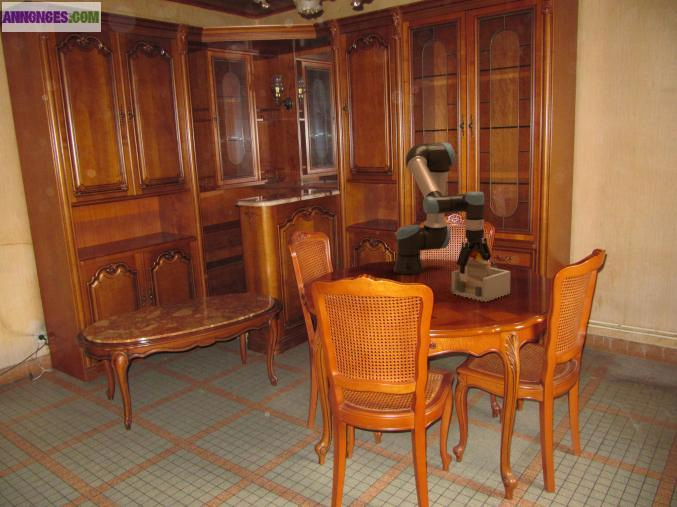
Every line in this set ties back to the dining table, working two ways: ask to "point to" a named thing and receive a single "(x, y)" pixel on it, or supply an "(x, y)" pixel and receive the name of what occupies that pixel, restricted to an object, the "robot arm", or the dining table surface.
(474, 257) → the ornament
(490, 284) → the cabinet
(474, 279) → the door
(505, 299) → the dining table surface
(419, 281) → the dining table surface
